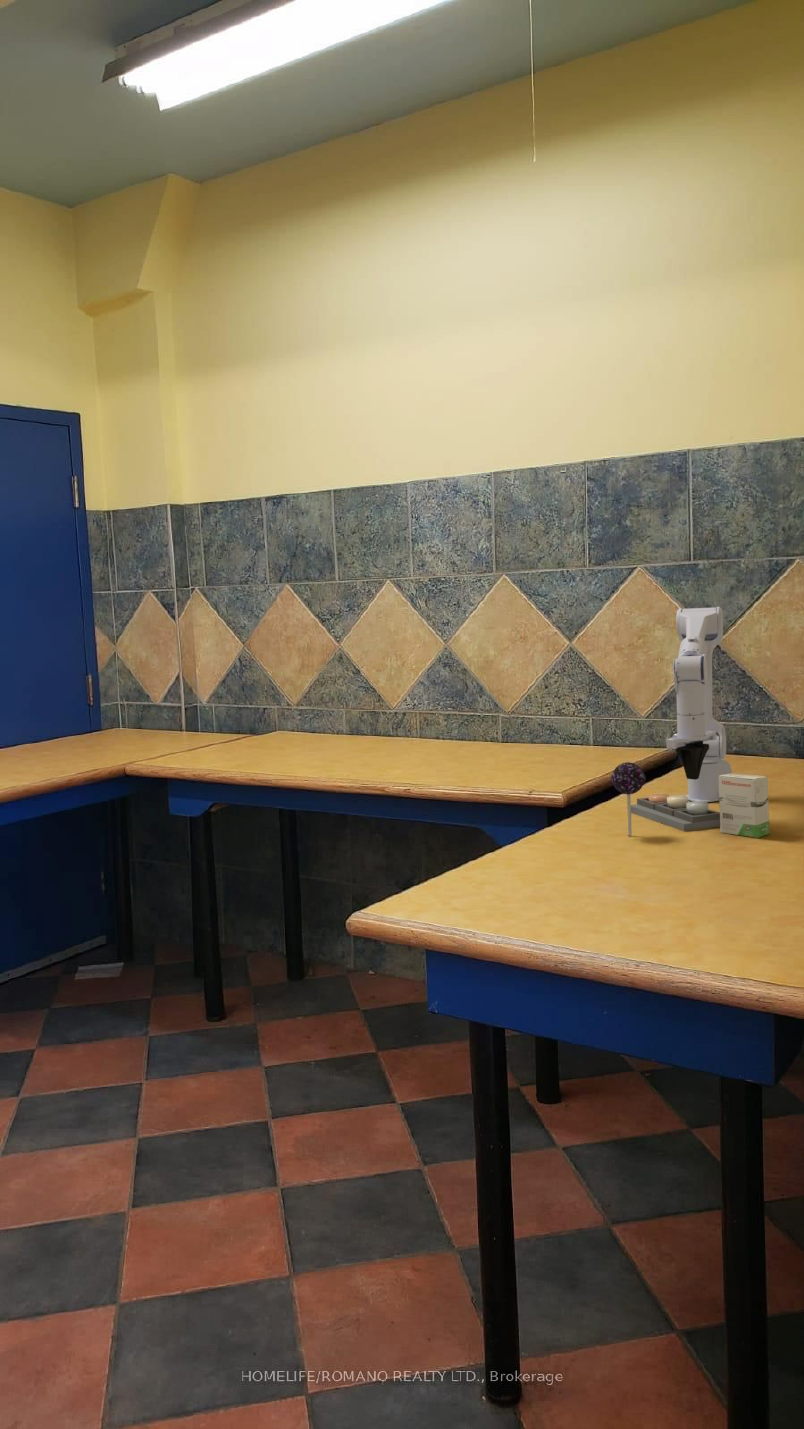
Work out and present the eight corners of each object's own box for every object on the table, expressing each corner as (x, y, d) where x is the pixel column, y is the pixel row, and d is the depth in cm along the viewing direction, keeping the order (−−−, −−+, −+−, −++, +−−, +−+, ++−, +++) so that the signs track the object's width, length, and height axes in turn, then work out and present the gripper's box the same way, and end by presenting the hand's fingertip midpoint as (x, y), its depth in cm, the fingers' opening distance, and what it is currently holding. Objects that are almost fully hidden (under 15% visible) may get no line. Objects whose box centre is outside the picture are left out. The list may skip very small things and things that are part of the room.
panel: (672, 806, 244) (672, 794, 243) (730, 824, 223) (730, 812, 223) (629, 811, 240) (628, 799, 240) (684, 831, 220) (683, 818, 219)
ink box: (770, 834, 214) (770, 775, 212) (756, 839, 210) (755, 779, 209) (732, 828, 220) (731, 771, 219) (718, 832, 217) (717, 774, 216)
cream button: (681, 802, 234) (680, 794, 234) (692, 806, 230) (692, 798, 230) (663, 805, 233) (662, 796, 233) (674, 808, 229) (674, 800, 228)
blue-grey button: (700, 808, 227) (700, 800, 227) (712, 812, 223) (712, 804, 223) (682, 811, 226) (682, 802, 226) (694, 815, 222) (694, 806, 221)
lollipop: (650, 838, 215) (648, 764, 213) (615, 840, 215) (613, 766, 214) (643, 830, 222) (641, 758, 220) (610, 832, 222) (607, 760, 220)
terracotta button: (662, 801, 241) (662, 793, 241) (673, 804, 237) (673, 796, 237) (645, 803, 240) (644, 795, 240) (655, 806, 236) (655, 798, 236)
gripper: (695, 708, 231) (697, 771, 232) (653, 716, 222) (655, 782, 223) (724, 710, 225) (725, 774, 227) (682, 718, 216) (683, 785, 218)
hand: (692, 778), depth 225 cm, fingers closed
